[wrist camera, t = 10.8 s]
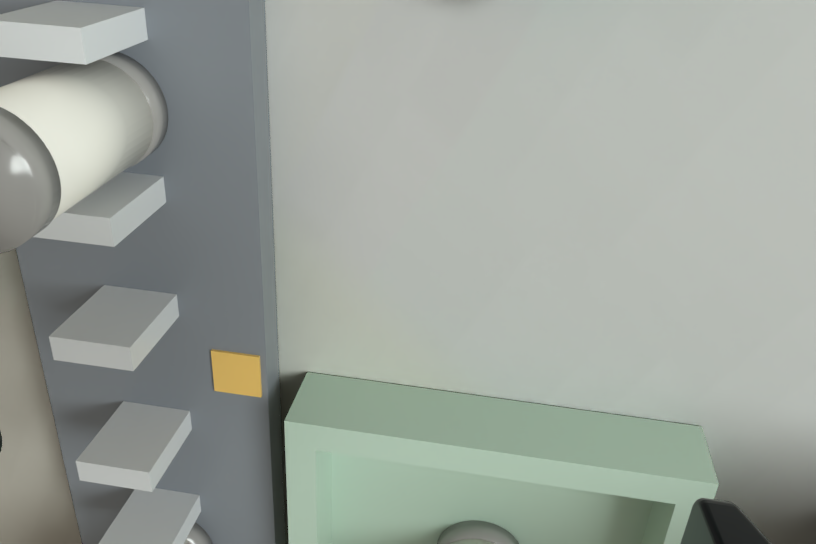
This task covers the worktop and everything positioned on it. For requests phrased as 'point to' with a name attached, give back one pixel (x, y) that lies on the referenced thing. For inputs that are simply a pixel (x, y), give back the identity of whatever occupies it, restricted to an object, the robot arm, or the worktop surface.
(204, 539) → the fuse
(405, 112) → the worktop surface
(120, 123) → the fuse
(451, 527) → the fuse marked
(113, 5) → the fuse panel
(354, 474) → the tray
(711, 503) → the robot arm
